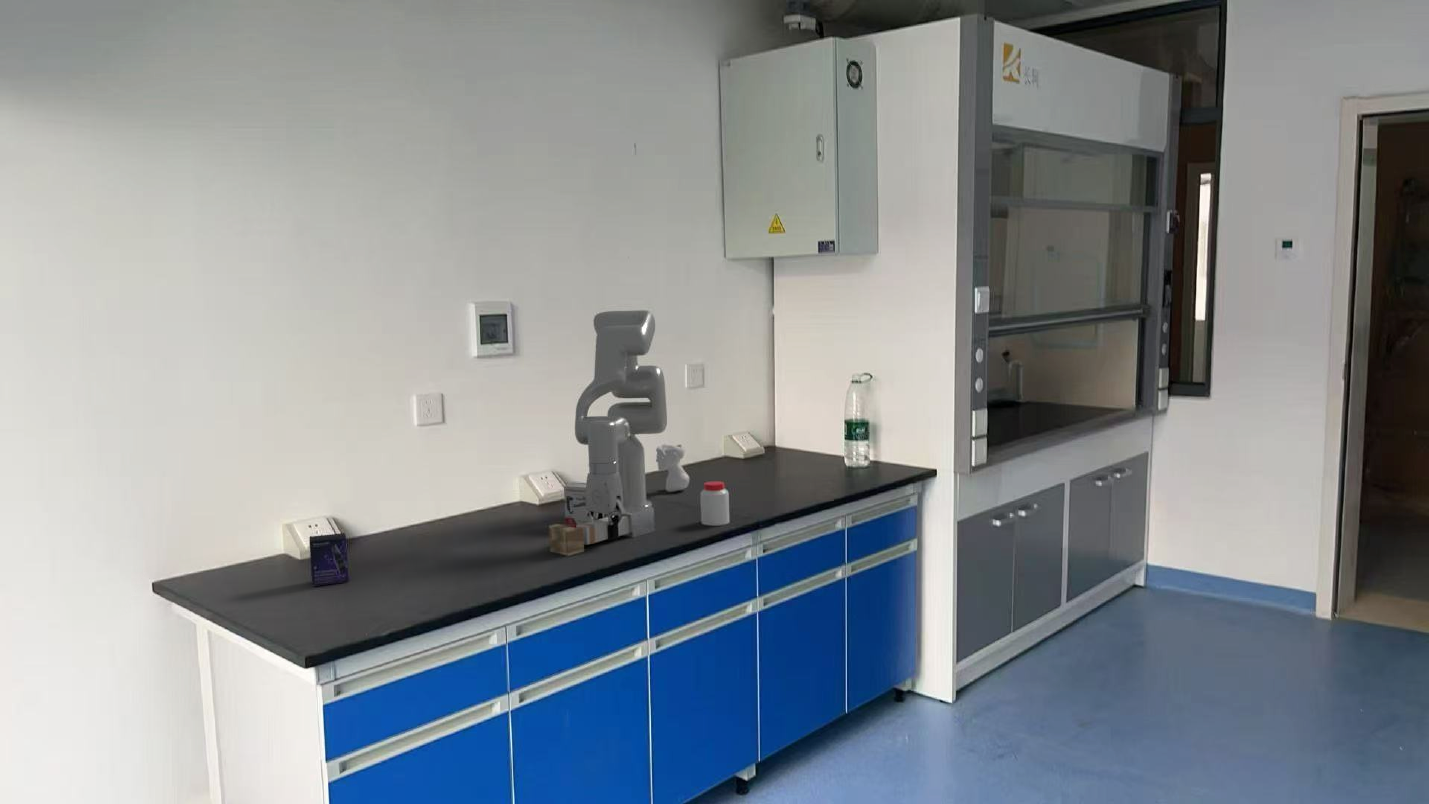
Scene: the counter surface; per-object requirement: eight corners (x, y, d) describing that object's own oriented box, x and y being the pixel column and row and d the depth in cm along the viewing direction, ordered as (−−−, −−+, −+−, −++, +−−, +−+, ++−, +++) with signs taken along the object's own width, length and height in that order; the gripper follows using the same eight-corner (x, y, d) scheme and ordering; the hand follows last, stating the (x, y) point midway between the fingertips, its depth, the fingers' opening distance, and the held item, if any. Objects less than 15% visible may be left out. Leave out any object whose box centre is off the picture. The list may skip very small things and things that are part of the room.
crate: (550, 551, 252) (549, 525, 252) (565, 547, 256) (564, 521, 255) (568, 555, 248) (567, 529, 247) (584, 551, 251) (582, 525, 251)
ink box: (564, 527, 278) (562, 485, 277) (572, 523, 283) (570, 482, 281) (592, 529, 275) (590, 486, 274) (600, 524, 280) (598, 483, 278)
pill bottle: (726, 525, 273) (725, 486, 272) (698, 525, 275) (697, 485, 274) (731, 519, 281) (730, 480, 280) (704, 519, 282) (703, 480, 281)
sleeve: (615, 534, 268) (614, 510, 268) (637, 528, 274) (636, 504, 274) (633, 537, 264) (631, 513, 263) (654, 531, 270) (653, 507, 269)
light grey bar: (576, 542, 257) (575, 524, 256) (639, 525, 273) (638, 509, 272) (587, 544, 254) (586, 527, 253) (649, 527, 270) (649, 510, 270)
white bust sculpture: (695, 491, 321) (693, 445, 320) (665, 496, 315) (663, 449, 314) (679, 487, 329) (677, 441, 328) (649, 492, 323) (647, 445, 321)
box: (312, 587, 228) (308, 541, 227) (311, 581, 233) (308, 535, 232) (349, 582, 231) (346, 536, 230) (348, 576, 236) (344, 531, 235)
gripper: (571, 467, 262) (575, 536, 264) (615, 473, 251) (618, 545, 253) (593, 463, 268) (596, 530, 270) (636, 469, 257) (639, 539, 259)
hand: (607, 537), depth 262 cm, fingers closed on light grey bar, 4 cm apart
